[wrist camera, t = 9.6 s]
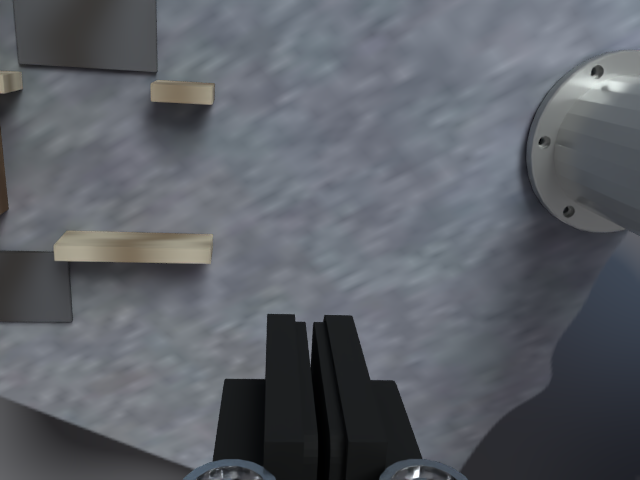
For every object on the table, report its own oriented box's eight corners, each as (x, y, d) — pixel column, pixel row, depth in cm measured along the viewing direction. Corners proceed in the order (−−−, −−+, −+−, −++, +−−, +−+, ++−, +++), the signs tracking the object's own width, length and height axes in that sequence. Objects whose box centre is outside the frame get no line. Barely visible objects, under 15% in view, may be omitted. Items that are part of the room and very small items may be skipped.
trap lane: (215, -11, 36) (213, -15, 33) (211, 320, 43) (209, 340, 40) (-169, -42, 33) (-207, -49, 31) (-108, 318, 40) (-134, 340, 37)
